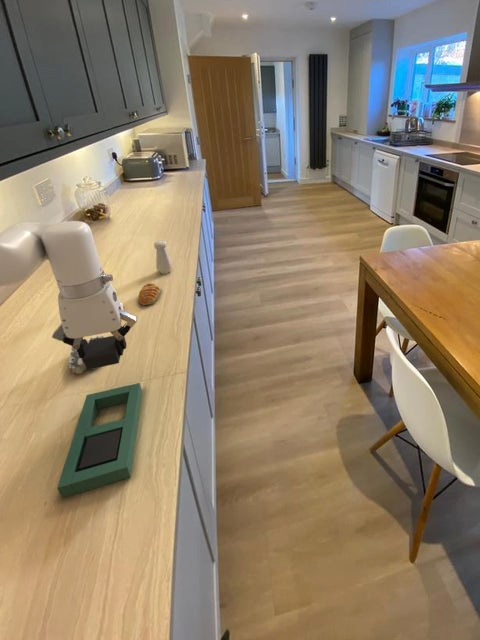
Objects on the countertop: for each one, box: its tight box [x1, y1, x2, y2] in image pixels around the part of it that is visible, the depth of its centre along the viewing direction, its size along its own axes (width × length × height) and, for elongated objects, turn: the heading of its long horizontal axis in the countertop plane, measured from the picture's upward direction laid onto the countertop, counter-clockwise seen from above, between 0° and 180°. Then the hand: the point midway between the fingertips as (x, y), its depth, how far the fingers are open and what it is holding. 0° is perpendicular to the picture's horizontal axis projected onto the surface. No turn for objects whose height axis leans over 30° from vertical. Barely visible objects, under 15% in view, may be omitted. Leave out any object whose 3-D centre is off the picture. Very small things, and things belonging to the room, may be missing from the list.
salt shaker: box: [153, 240, 173, 275], centre depth 127 cm, size 6×6×13 cm
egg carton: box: [68, 335, 104, 375], centre depth 86 cm, size 11×8×4 cm
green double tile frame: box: [56, 382, 143, 499], centre depth 66 cm, size 11×20×3 cm, turn 18°
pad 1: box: [83, 335, 121, 371], centre depth 70 cm, size 6×6×3 cm
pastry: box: [138, 282, 161, 306], centre depth 112 cm, size 9×7×4 cm
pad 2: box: [79, 429, 122, 471], centre depth 63 cm, size 6×6×3 cm
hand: (104, 354), depth 70 cm, fingers closed on pad 1, 6 cm apart
